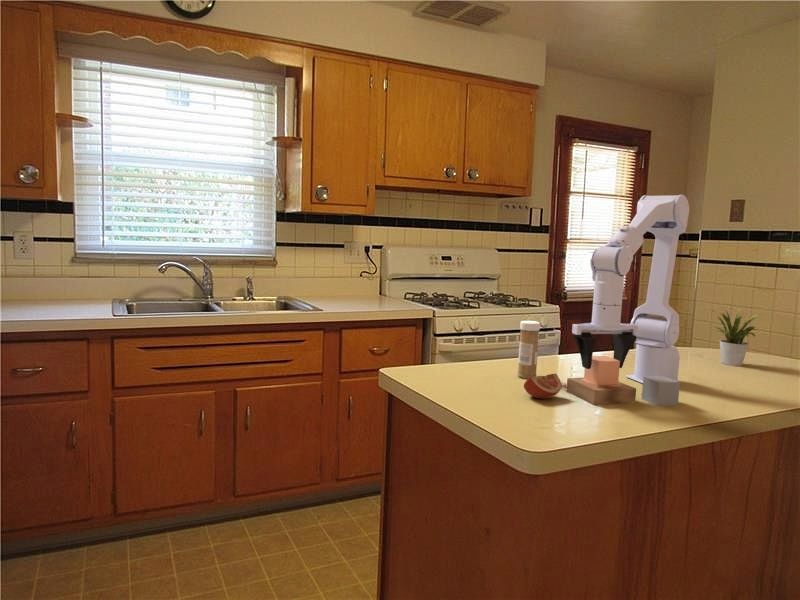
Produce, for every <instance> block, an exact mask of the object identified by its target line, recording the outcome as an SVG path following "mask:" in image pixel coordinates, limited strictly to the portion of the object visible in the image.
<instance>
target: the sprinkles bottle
mask: <svg viewBox="0 0 800 600" xmlns="http://www.w3.org/2000/svg"><path fill="white" fill-rule="evenodd" d="M519 324H520V326H519V329H520V334H519V335H520V336H519V337H520V338H519V347H518V360H517V362H518V365H517V366H518V368H517V377H518V378H521V379H526V380H528V379H529V378H530V377H533V376H538V375H537V367H538V366H537V365H538V353H539V351H538V350H539V345H538V344H539V333H540V330H541V329H540V328H541V323H540V322H539V321H536V320H521V321H520V323H519Z"/></svg>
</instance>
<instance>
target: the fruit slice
mask: <svg viewBox="0 0 800 600" xmlns="http://www.w3.org/2000/svg"><path fill="white" fill-rule="evenodd" d="M562 387H563V386H562V381H561V380H560V377H559V376H558V375H557V373H551V374H550V373H549V374H547V375H537V376H533V377H530V378H529V379H526V381H525V382H524V385H523V389H524V390H525V391H526V393H527V394H529V395H530V396H531V397H533V398H536V399H548V398H551V397H554V396H556V395H557V394H558V393H559V392H560V391H561V390H562Z"/></svg>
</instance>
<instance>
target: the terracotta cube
mask: <svg viewBox="0 0 800 600" xmlns="http://www.w3.org/2000/svg"><path fill="white" fill-rule="evenodd" d="M613 358H614V357H610V356H608V355H592V364H591V368H590V369H586V368H584V372H583V373H584V374H583V378H584V379H585V380H587V381H589V382H591V383H594V384H596V385H612V384H618V381H619V379H620V378H619V376H620V368H619V367H620V361H619V360H616V359H613Z"/></svg>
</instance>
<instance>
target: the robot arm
mask: <svg viewBox="0 0 800 600" xmlns="http://www.w3.org/2000/svg"><path fill="white" fill-rule="evenodd" d="M689 214H690V205H689V201H688V198H687V197H686V196H685V195H684V194H679V195H675V194H674V195H647V194H644V195H642V196H641V197H640V199H639V200H638V201H637V205H636V214H635V215H634V217H633V219H632V220H631V222H630V223H629V224H628V225H621V227H619V229H618V230H617V231H616V232H615V234H614V235H613V236H612V237H611V238H610V239H609V241H608V242H607V243H606V244H605V245H604V246H603V245H602V246H599V247H598V248H596V249H594V250H593V252H592V255H591V259H590V268H591V272H592V276H591V278H592V281H593V282H594V283H593V284H594V286H593V287H594V288H593V300H592V310H591V311H592V312H591V322H585V323H572V327H571V328H572V329H571V333H572V335H573V339H574V341H575V343H576V345H577V348H578V351H579V354H580V360H581V366H582V368H584V369H585V368H586V369H590V368H591V364H592V356H593V353H594V349H595V345H596V342H597V340H598V339H597V338H596V337H593V335H607V334H608V335H609V334H611V336H612V342H613V357H612V358H613V359H616V360H619V361H620V367H619V369H622V368H623V366H624V363H625V361H626V357H627V355H628V353H629V352H630V350H631V349H632V346H633V345H634V344H636V346H635V358H634V359H635V361H634V370H633V371H634V372H633V374H626V375H625V377H626V378H629V379H631V380H633V381H636V382H638V383H640V384H643V377H644V376H665V377H668V378H671V379H673V380H676V381H679V379H678V378H679V369H680V368H679V367H680V357H681V356H680V352H679V349H678V348H677V346H675V343H677V341H678V339H679V336H680V315H679V314H678V312H677V311H676V310H675V309H674V308H673V307H671V305H670V296H671V291H672V290H671V289H672V283H673V282H672V281H673V277H674V276H673V275H674V270H675V263H676V256H677V250H678V244H679V237H680V235H682V234H684V233H686V231H687V227H688V221H689V216H690V215H689ZM647 232H649V233H651V234H653V235H654V237H655V240H654V247H653V252H652V259H651V266H650V273H649V278H648V279H649V281H648V287H647V292H646V299H645V303H643V304H641V305H639V306H638V307H636V308H635V309H634V311H633V316H632V319H631V321H630V323H622V322H621V321H622V320H621V318H622V308H623V305H622V304H623V295H624V294H623V293H624V283H625V281H624V280H625V275H627V274H628V273H629V271H630V270H631V266H632V262H633V261H634V256H635V254H636V253H637V251H638V250H639V249H640V248H641V246H642V245H643V243H644V235H645V234H646V233H647ZM649 315H653V316H649ZM656 316H661V317H656ZM663 317H664V318H663Z"/></svg>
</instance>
